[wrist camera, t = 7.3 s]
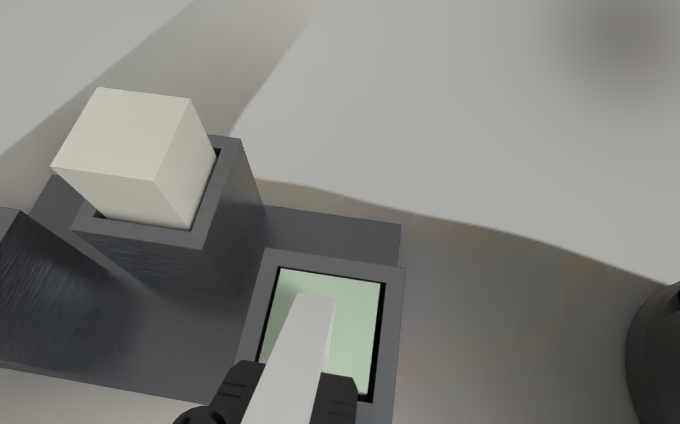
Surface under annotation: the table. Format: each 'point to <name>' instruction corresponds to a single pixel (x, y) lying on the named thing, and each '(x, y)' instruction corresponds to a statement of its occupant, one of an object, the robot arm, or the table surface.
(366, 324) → the sage button
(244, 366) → the robot arm
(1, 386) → the table surface
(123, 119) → the ivory button
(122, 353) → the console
